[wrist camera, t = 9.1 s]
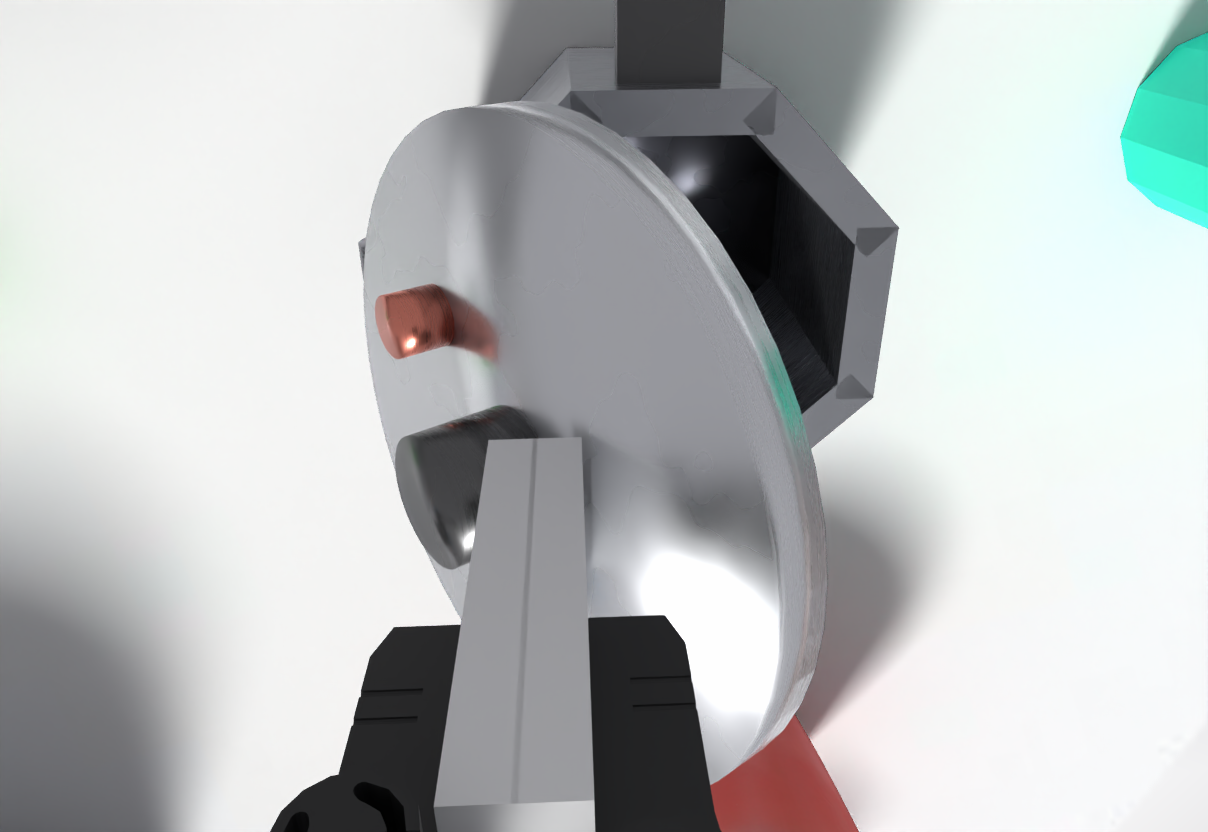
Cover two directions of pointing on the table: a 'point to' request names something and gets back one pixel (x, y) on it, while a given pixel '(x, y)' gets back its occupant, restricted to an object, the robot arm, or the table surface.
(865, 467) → the table surface
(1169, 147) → the candle
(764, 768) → the flower pot
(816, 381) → the pot
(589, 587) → the lid
